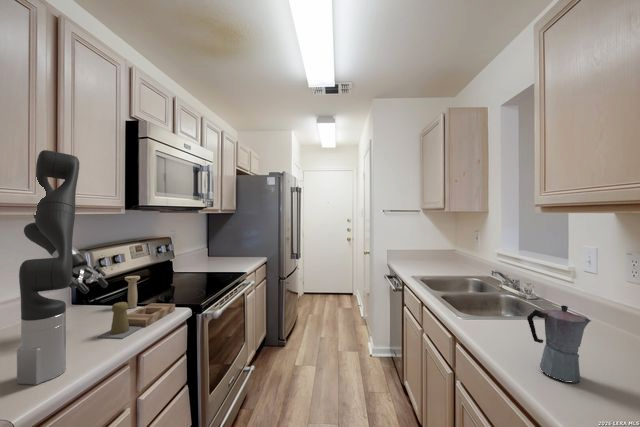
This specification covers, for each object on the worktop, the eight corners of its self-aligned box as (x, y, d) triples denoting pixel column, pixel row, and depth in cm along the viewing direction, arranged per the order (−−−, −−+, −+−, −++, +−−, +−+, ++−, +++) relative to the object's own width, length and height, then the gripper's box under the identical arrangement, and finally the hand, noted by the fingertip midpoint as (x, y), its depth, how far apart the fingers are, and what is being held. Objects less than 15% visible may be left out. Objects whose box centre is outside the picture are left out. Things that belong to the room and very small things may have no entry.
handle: (129, 305, 143) (129, 275, 143) (142, 305, 143) (142, 275, 143) (122, 309, 138) (122, 278, 138) (136, 309, 138) (136, 277, 138)
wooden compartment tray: (145, 327, 116) (145, 319, 116) (118, 326, 117) (118, 318, 117) (175, 310, 136) (175, 304, 136) (151, 309, 137) (151, 303, 137)
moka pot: (602, 388, 76) (603, 312, 76) (538, 382, 79) (538, 309, 79) (576, 368, 86) (577, 301, 85) (519, 364, 88) (520, 298, 88)
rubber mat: (122, 338, 106) (122, 337, 106) (97, 337, 106) (97, 336, 106) (141, 328, 116) (141, 326, 116) (118, 327, 116) (118, 325, 116)
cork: (107, 335, 107) (107, 305, 107) (114, 329, 113) (114, 301, 113) (126, 333, 109) (126, 304, 109) (131, 327, 115) (131, 299, 115)
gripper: (58, 255, 106) (86, 287, 105) (92, 250, 120) (117, 278, 119) (44, 269, 106) (73, 301, 105) (80, 262, 120) (105, 291, 119)
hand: (97, 289), depth 112 cm, fingers open, 8 cm apart
